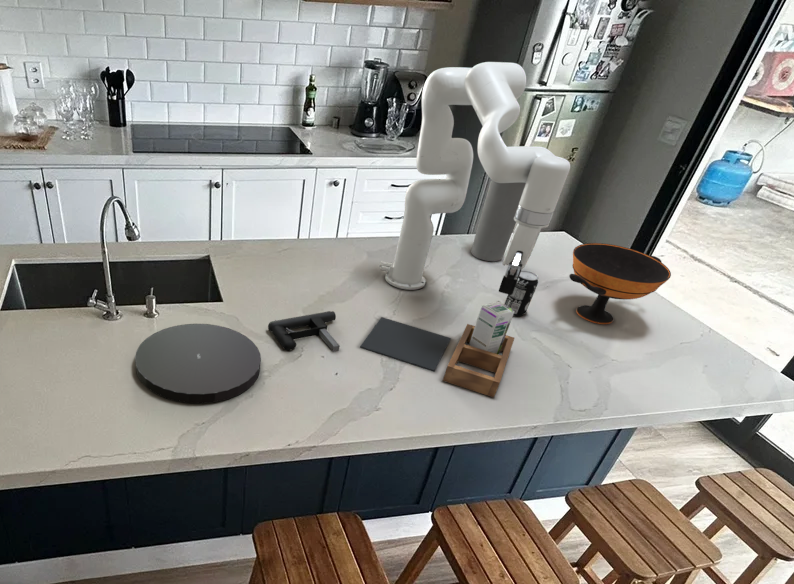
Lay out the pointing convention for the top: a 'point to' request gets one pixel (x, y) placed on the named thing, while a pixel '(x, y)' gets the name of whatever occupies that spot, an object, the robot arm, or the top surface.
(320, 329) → the door handle
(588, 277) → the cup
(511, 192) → the canister
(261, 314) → the top surface
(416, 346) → the mat
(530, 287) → the beverage can
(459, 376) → the rack
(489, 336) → the syrup box
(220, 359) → the disc
